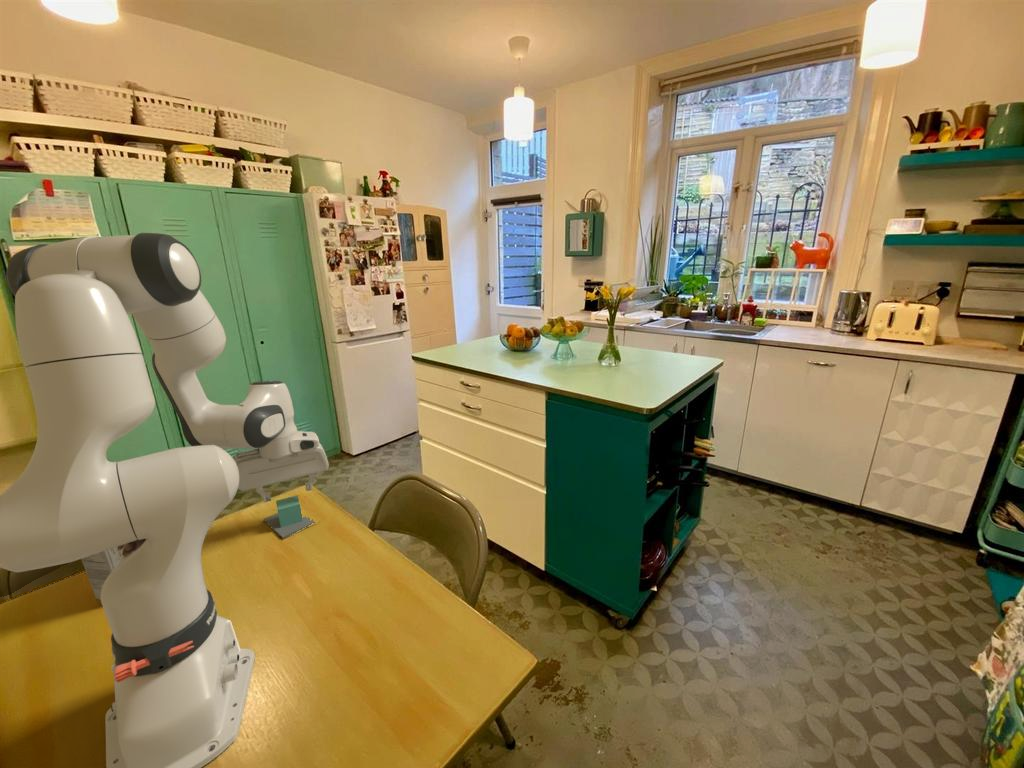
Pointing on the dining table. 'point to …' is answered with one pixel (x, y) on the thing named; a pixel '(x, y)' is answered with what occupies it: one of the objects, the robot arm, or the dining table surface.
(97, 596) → the coffee box
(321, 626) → the dining table surface
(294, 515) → the teal cube
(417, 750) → the dining table surface
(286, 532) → the mat
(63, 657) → the dining table surface
